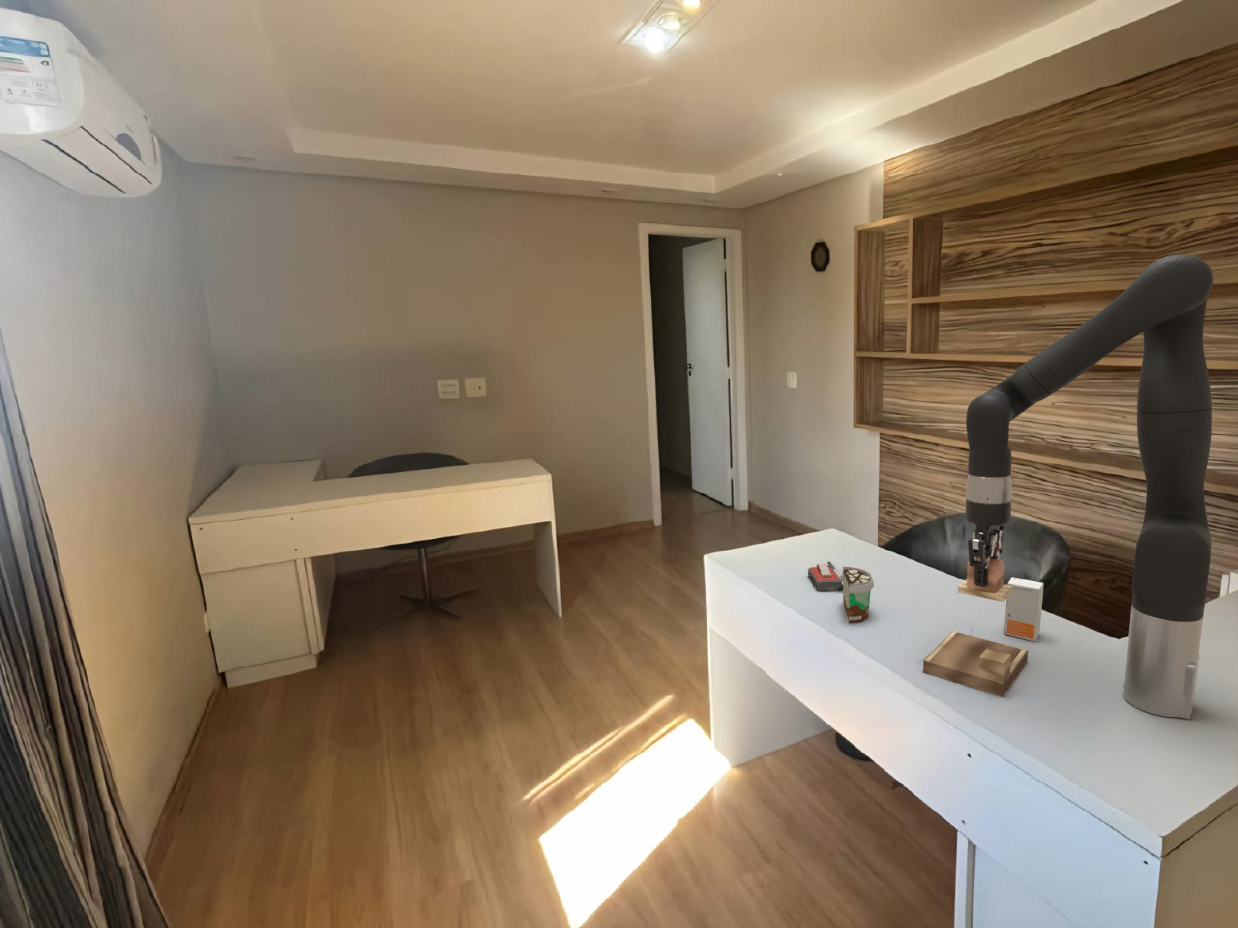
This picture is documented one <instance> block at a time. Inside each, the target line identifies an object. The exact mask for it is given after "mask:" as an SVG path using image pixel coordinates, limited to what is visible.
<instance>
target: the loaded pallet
mask: <svg viewBox="0 0 1238 928" xmlns="http://www.w3.org/2000/svg"><path fill="white" fill-rule="evenodd" d="M978 561H980V562H981V559H980V558H978ZM969 563H970V562H969V561H968V562H967V566H966V567H967V568H966V569H967V573H966V574H967V575H966V579H965V580H964V581H963V582H961V584H959V585H958V586H957V593H959V594H964V595H968V596H972V597H973V596H974V597H978V598H982V599H988V600H992V601H996V602H997V601H998V602H1002V603H1003V602H1006V598H1007V597H1008V596H1009V595H1010V594H1011V593H1012V592H1013V586H1010V585H1007V584H1005V582H1004V581H1005V560H1003V559H990V560H989V567H988V585H987V586H986V587H980V586H976V585H975V584H974V567H972V566H970V564H969Z"/></svg>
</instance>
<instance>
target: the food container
mask: <svg viewBox="0 0 1238 928" xmlns="http://www.w3.org/2000/svg"><path fill="white" fill-rule="evenodd" d="M842 574H843V581H842V584H843V591H842V599H843V600H842V601H843V602H842V603H843V604H842V605H843V607H842V608H843V610H844V613H845V616H846V619H847V622H848V624H857V623H858V624H859V623H862V622H865V621H866V620H868V618H869V612H870V603H871V591H872V590H873V588H874V586H875V582H874V579H873V576H872V574H871V573H870V572H868V571H866V570H864V569H861V568H858V567H853V566H842Z"/></svg>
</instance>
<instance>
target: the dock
mask: <svg viewBox="0 0 1238 928" xmlns="http://www.w3.org/2000/svg"><path fill="white" fill-rule="evenodd" d="M986 649H990V650H994V651H998V652H1002V653H1006V654H1010V655H1011V659H1010V676H1009V677H1008V678H1007V680H1006V681H1005V682H1004V684H1003V683H999V682H996V681H992V680H988V679H985V678H981V677H979V657H980V656H981V655H982V653H983V652H984V651H985V650H986ZM1028 661H1029V650H1028V649H1025V648H1018V647H1015V646H1012V645H1007V644H1002V643H999V642H995V641H991V640H988V639H984V638H980V637H977V636H973V635H969V634H965V633H961V632H958V631H955V630H952V631H951V632H950V633H949V634H948V635H947V636H946V637H945V638H944V639H943V640H942V641H941V642H940V643H939V644H938V645H937V646H936V647H935V648H934V649H933V650H932V651H931V652H930V653H929V654H928V655H927V656H925V658H924V659H923V662H922V672H923V673H924V674H929V675H930V676H932V675H933V676H936V677H938V678H942V679H944V680H948V681H951V682H954V683H958V684H960V685H964V686H967V687H970V688H974V689H977V690H980V691H983V692H985V693H989V694H992V695H995V696H999V697H1002V698H1003V697H1004V696H1005V694H1006V693H1007V692H1008V691H1009V689H1010V688H1011V686H1012V685H1013V684H1014V682H1015V681H1016V679H1017V678H1018V677H1019V675H1020V674H1021V672H1022V671H1023V670H1024V669H1025V667H1026V666H1027V664H1028Z"/></svg>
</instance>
